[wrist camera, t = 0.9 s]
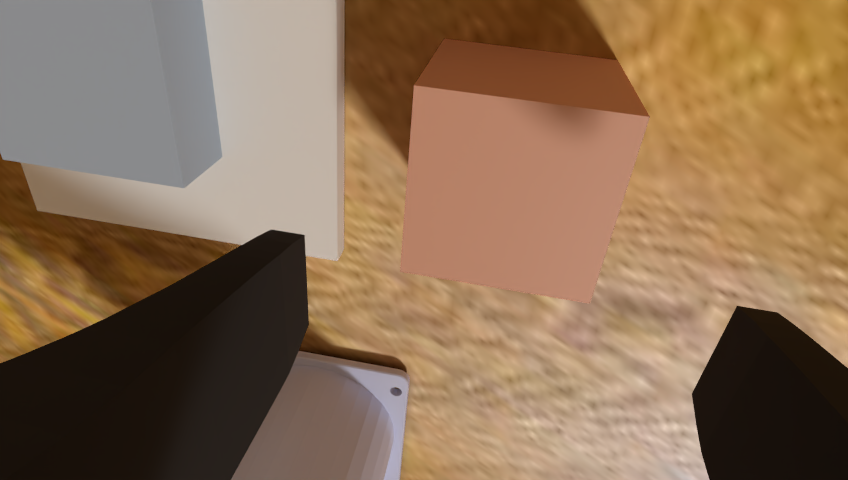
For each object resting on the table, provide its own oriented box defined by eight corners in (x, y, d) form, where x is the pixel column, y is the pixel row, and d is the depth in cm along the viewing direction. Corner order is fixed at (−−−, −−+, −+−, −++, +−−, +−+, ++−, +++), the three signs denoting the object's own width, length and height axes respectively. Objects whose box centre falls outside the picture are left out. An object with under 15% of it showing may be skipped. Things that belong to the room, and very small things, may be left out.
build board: (344, 249, 20) (337, 261, 20) (52, 201, 22) (37, 210, 21) (344, -92, 14) (335, -91, 14) (-58, -133, 16) (-84, -135, 15)
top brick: (575, 211, 18) (590, 303, 14) (429, 188, 19) (400, 271, 14) (617, 59, 15) (650, 116, 11) (444, 37, 16) (413, 85, 12)
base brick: (222, 157, 18) (184, 188, 16) (59, 132, 19) (2, 159, 17) (196, -43, 15) (145, -34, 13) (0, -65, 16) (-78, -61, 14)
